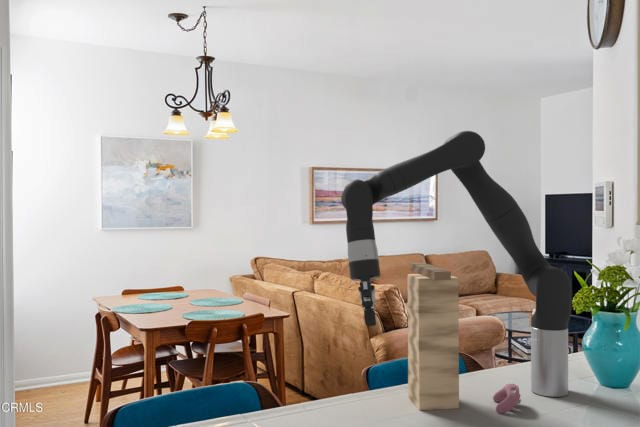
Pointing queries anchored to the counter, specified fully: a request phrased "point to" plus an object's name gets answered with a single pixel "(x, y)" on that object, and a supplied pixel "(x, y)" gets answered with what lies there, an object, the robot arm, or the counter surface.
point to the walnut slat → (430, 271)
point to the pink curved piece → (507, 398)
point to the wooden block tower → (433, 342)
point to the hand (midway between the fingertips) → (371, 325)
